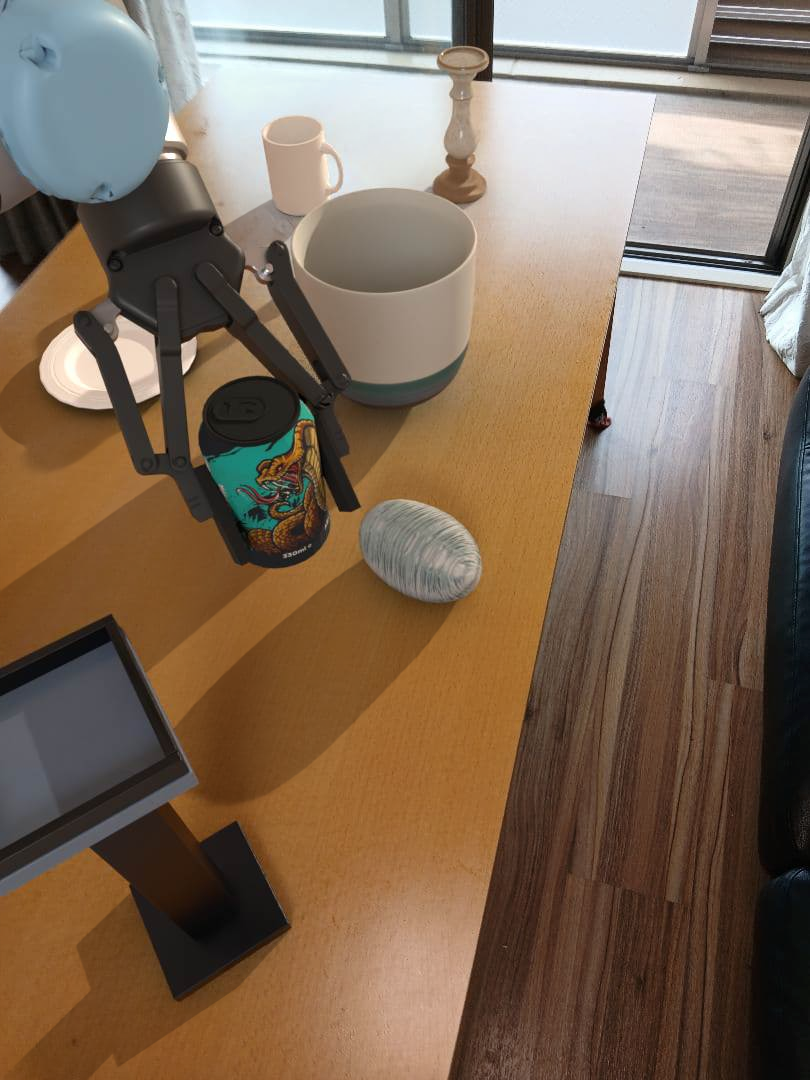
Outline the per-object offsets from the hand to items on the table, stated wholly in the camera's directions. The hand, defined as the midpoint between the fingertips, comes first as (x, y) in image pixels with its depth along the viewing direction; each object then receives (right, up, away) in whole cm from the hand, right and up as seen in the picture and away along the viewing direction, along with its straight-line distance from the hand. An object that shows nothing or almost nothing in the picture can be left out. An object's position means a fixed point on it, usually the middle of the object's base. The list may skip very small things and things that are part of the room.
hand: (297, 534), depth 52 cm
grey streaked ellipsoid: (+9, -4, +36) cm, 37 cm away
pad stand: (-9, -31, +16) cm, 36 cm away
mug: (-9, +55, +81) cm, 98 cm away
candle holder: (+16, +57, +82) cm, 101 cm away
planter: (+5, +20, +54) cm, 57 cm away
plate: (-31, +23, +58) cm, 70 cm away
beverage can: (-2, 0, +5) cm, 5 cm away
